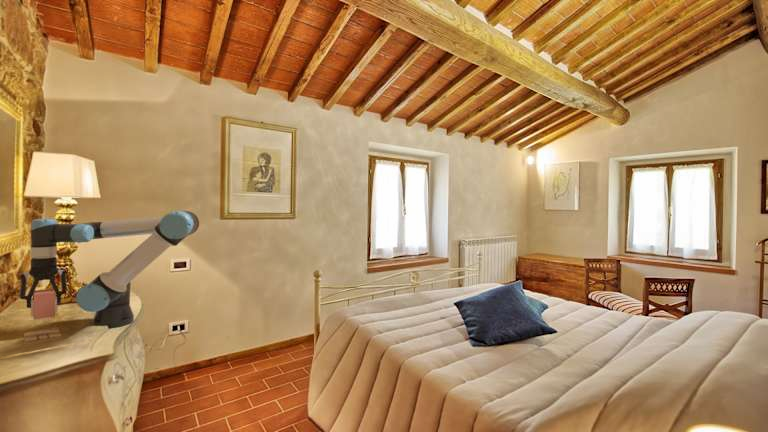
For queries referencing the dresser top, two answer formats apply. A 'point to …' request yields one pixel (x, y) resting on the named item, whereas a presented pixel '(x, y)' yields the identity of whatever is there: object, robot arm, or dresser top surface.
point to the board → (42, 335)
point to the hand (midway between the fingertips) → (44, 313)
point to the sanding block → (44, 304)
